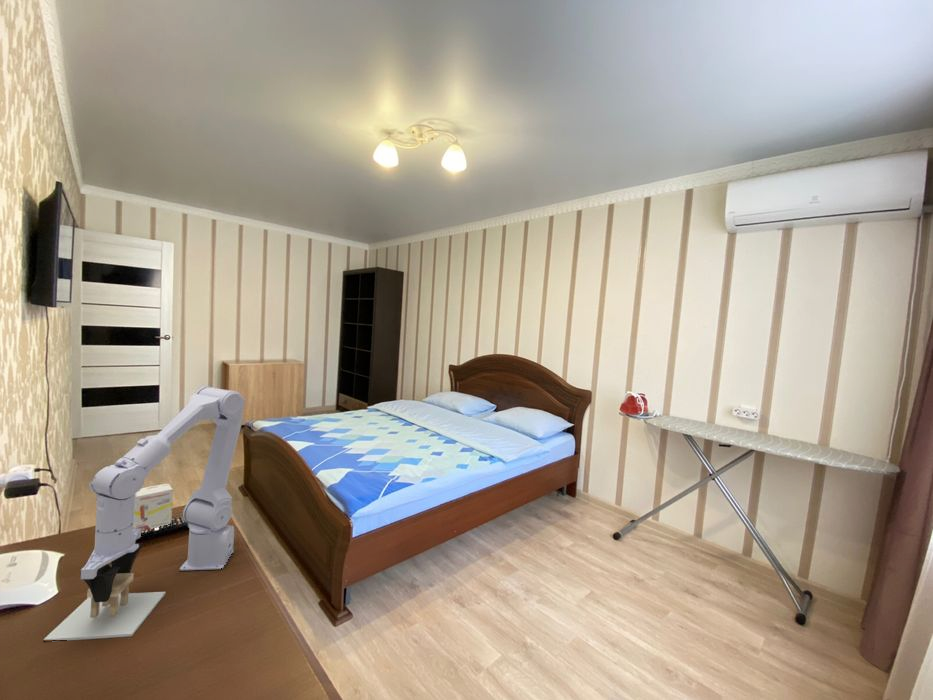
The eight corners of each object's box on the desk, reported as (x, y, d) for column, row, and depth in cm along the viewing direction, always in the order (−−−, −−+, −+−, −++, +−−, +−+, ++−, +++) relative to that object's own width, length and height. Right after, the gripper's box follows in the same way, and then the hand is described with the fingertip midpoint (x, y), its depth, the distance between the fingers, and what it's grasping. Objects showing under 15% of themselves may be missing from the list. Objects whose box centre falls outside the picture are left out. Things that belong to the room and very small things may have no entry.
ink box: (133, 538, 105) (135, 496, 104) (128, 531, 108) (131, 490, 108) (171, 528, 112) (174, 488, 111) (166, 521, 115) (169, 482, 114)
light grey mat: (165, 593, 86) (165, 591, 86) (131, 636, 75) (131, 633, 75) (90, 597, 83) (91, 595, 83) (43, 642, 72) (43, 639, 72)
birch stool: (104, 601, 81) (105, 573, 81) (131, 600, 82) (133, 573, 82) (85, 619, 76) (87, 589, 76) (115, 618, 77) (117, 588, 77)
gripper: (114, 545, 72) (110, 616, 73) (158, 508, 86) (154, 568, 87) (68, 546, 70) (64, 618, 71) (120, 509, 84) (117, 569, 85)
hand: (111, 591), depth 79 cm, fingers closed on birch stool, 5 cm apart
